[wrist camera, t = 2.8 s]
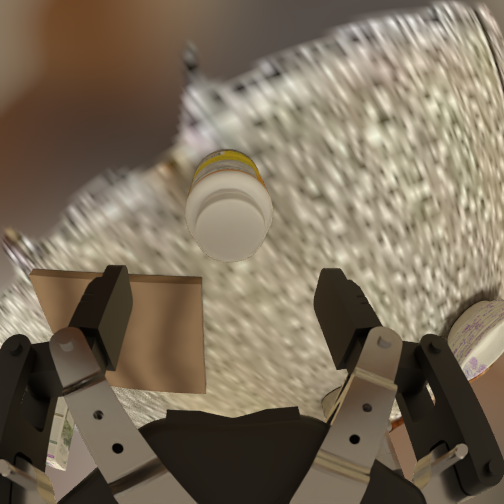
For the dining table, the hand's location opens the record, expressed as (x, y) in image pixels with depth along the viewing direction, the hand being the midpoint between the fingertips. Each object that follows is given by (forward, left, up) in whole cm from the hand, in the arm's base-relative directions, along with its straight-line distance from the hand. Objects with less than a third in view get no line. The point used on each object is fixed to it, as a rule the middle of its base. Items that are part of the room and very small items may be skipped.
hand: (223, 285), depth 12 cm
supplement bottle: (0, 0, -14) cm, 14 cm away
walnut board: (+12, +20, -14) cm, 27 cm away
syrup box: (+30, +40, -14) cm, 52 cm away
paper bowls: (-42, +20, -14) cm, 49 cm away
